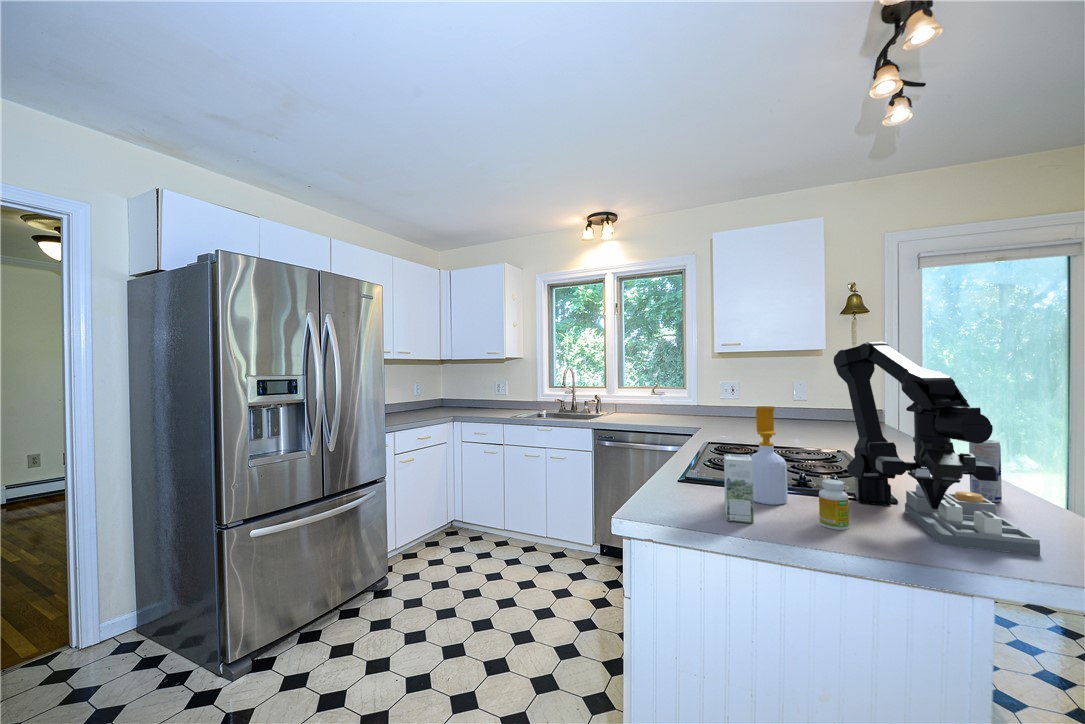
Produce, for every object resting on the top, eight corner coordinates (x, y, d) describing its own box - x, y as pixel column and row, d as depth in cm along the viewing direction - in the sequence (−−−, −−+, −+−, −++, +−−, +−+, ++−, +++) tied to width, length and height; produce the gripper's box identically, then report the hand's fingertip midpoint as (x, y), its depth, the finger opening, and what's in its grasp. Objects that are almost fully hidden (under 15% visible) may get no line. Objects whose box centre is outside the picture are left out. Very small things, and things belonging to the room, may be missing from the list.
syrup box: (751, 515, 104) (749, 454, 104) (754, 524, 99) (752, 459, 99) (725, 513, 106) (723, 453, 106) (726, 522, 101) (725, 458, 101)
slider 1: (947, 523, 91) (946, 504, 91) (938, 516, 95) (938, 498, 95) (962, 524, 90) (962, 505, 90) (953, 517, 94) (953, 499, 94)
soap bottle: (749, 503, 113) (747, 407, 113) (747, 493, 121) (745, 403, 121) (789, 507, 109) (787, 407, 109) (784, 496, 118) (782, 404, 118)
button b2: (961, 510, 96) (960, 496, 96) (951, 504, 100) (951, 490, 100) (987, 513, 95) (987, 498, 95) (977, 506, 99) (976, 492, 99)
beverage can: (1008, 503, 108) (1006, 442, 108) (981, 503, 109) (979, 442, 109) (990, 496, 113) (988, 438, 113) (964, 496, 114) (963, 438, 114)
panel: (942, 544, 86) (941, 518, 86) (905, 511, 105) (904, 490, 104) (1040, 555, 80) (1039, 528, 80) (982, 518, 99) (982, 495, 99)
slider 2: (984, 536, 84) (984, 515, 84) (974, 528, 88) (973, 508, 88) (1002, 537, 83) (1001, 517, 83) (990, 530, 87) (990, 510, 87)
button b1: (920, 502, 99) (920, 488, 99) (913, 497, 103) (912, 483, 103) (945, 504, 97) (945, 490, 97) (937, 498, 101) (936, 485, 101)
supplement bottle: (841, 532, 93) (840, 486, 93) (814, 524, 98) (813, 480, 98) (853, 526, 96) (852, 482, 96) (827, 519, 101) (826, 476, 101)
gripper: (889, 439, 90) (891, 516, 90) (1013, 444, 82) (1015, 528, 82) (874, 431, 100) (875, 500, 100) (982, 434, 93) (984, 509, 93)
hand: (933, 508), depth 93 cm, fingers closed
